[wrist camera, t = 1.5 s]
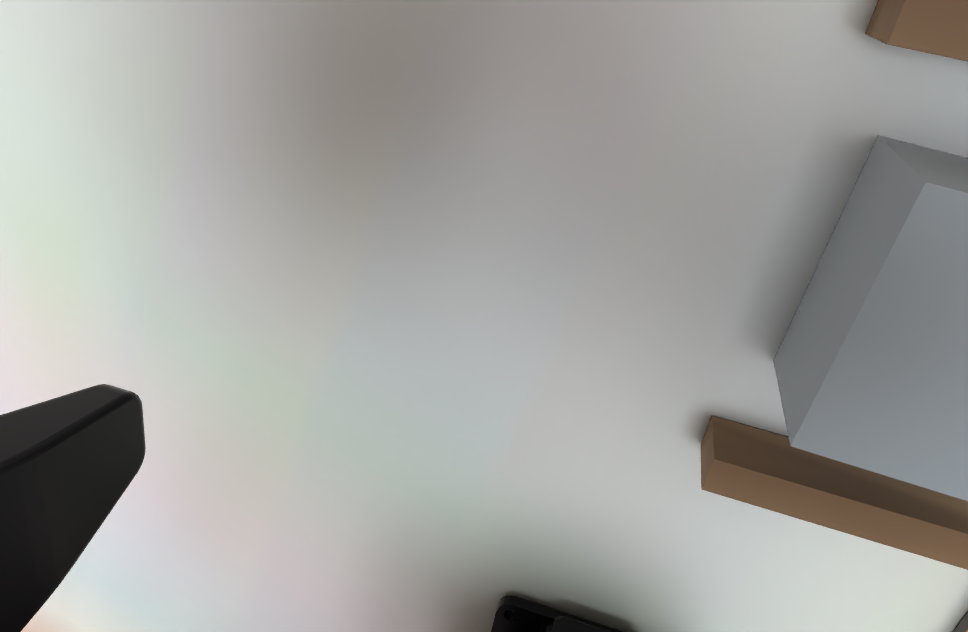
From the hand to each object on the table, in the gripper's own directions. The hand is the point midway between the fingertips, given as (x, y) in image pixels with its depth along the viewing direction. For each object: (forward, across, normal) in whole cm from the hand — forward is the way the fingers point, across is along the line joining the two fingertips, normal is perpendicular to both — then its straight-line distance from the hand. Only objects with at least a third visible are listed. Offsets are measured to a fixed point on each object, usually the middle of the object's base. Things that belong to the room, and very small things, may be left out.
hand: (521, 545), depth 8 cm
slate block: (+12, -8, 0) cm, 15 cm away
